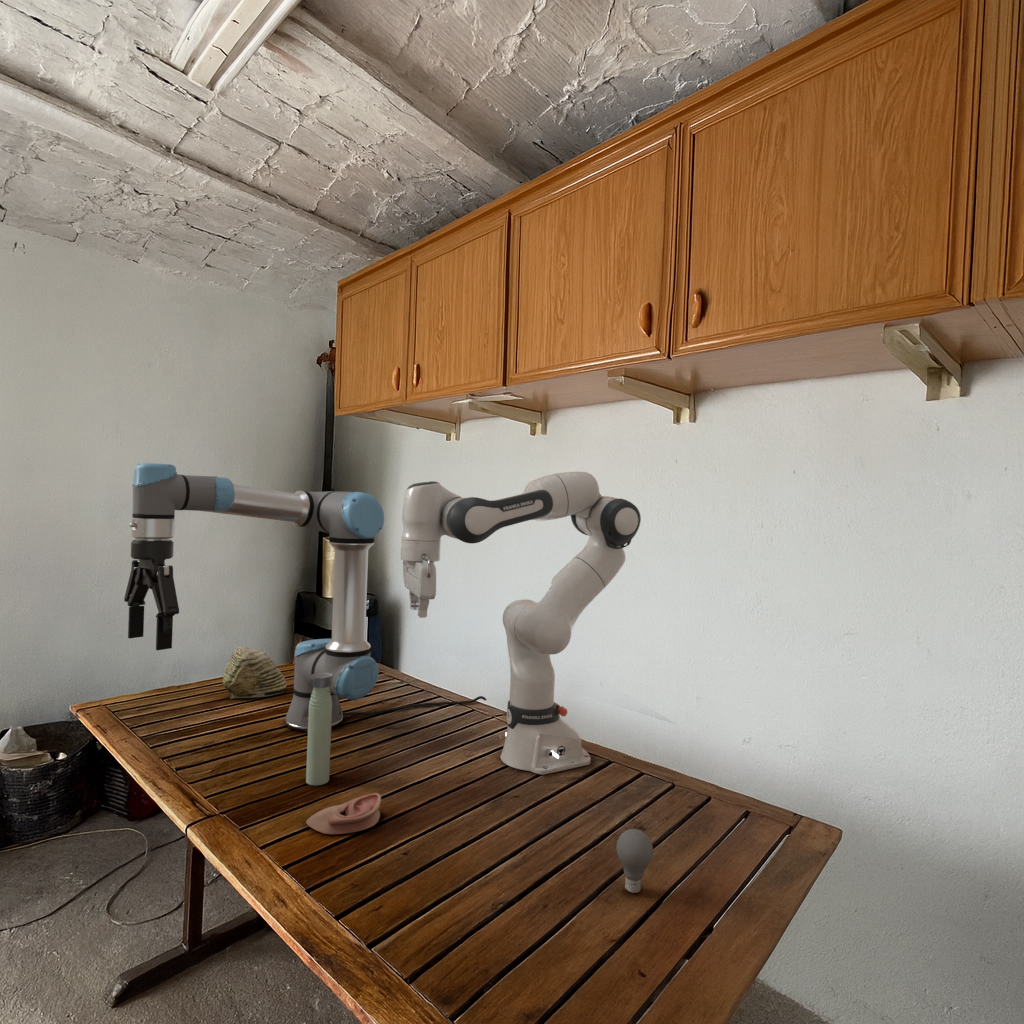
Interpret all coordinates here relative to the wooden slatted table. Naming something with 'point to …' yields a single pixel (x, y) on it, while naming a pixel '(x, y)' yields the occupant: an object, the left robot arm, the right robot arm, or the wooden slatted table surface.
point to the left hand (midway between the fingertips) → (149, 643)
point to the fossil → (252, 674)
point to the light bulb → (634, 857)
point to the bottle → (319, 737)
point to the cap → (321, 680)
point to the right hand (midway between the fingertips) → (418, 613)
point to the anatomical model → (347, 816)
